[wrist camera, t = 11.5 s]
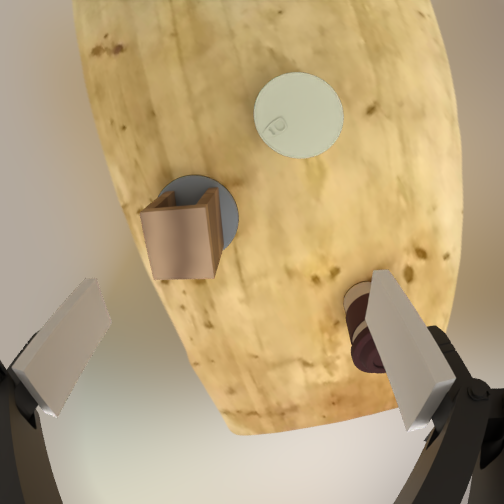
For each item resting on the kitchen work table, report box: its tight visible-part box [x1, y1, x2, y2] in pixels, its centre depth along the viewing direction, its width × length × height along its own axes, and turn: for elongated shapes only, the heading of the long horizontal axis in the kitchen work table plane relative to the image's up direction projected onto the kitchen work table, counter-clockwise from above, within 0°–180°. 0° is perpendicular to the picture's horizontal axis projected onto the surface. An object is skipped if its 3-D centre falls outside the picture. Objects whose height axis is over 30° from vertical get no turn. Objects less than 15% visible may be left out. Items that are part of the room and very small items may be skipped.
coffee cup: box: [344, 282, 386, 373], centre depth 42 cm, size 10×10×15 cm
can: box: [254, 72, 344, 158], centre depth 32 cm, size 9×9×12 cm
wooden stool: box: [140, 187, 224, 280], centre depth 39 cm, size 8×9×10 cm
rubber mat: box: [158, 175, 239, 250], centre depth 44 cm, size 13×13×1 cm
